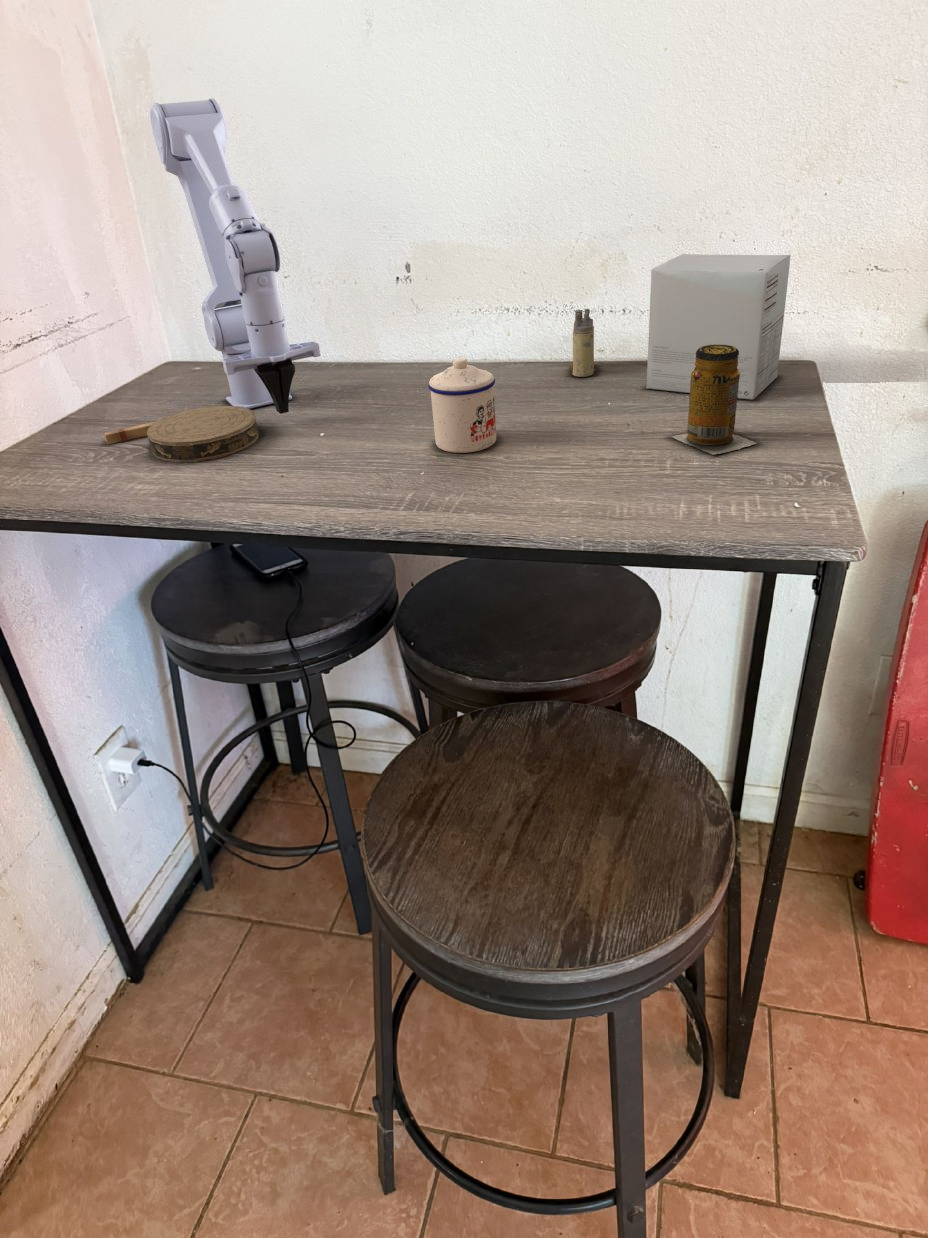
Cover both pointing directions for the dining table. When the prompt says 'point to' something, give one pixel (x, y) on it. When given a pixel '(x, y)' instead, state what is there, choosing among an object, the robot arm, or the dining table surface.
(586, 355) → the lighter
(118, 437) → the rail
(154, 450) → the tin can
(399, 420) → the dining table surface
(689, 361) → the supplement box
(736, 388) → the condiment
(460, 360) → the teacup with lid
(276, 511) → the dining table surface
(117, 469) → the dining table surface
